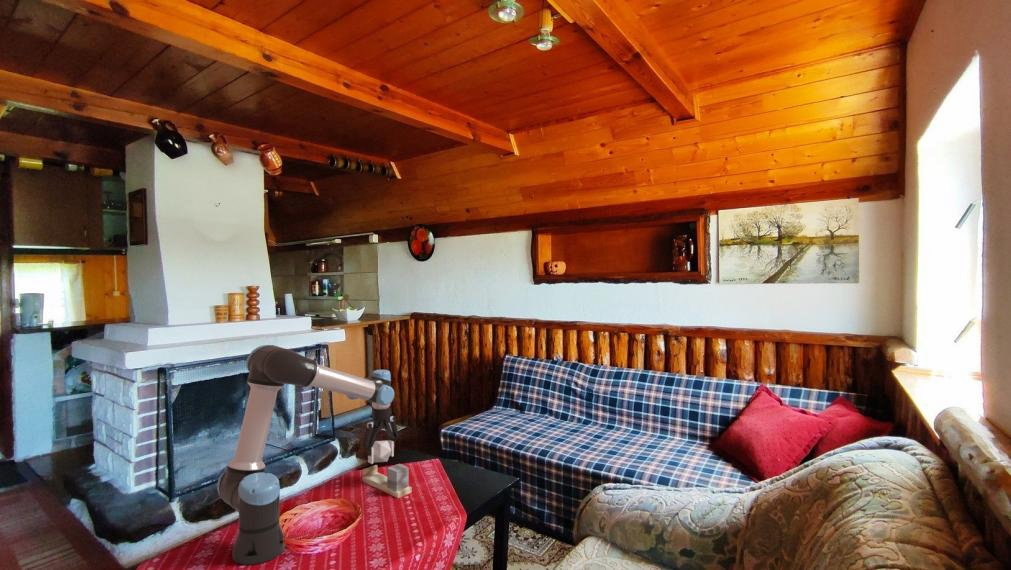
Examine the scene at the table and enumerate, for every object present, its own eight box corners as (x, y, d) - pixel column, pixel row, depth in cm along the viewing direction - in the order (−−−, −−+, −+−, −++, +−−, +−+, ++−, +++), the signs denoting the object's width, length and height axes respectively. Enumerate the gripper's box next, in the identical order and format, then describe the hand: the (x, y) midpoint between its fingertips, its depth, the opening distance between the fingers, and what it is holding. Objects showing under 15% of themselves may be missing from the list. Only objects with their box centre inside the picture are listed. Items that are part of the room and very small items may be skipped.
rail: (398, 498, 196) (398, 473, 196) (362, 481, 212) (362, 458, 211) (411, 492, 202) (411, 468, 202) (375, 476, 217) (376, 453, 217)
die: (383, 468, 203) (396, 445, 207) (364, 457, 203) (378, 434, 207) (383, 467, 211) (396, 446, 215) (365, 457, 211) (379, 435, 215)
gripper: (364, 414, 197) (363, 469, 198) (407, 403, 215) (407, 453, 215) (353, 410, 202) (352, 464, 203) (396, 400, 219) (396, 449, 220)
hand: (380, 459), depth 209 cm, fingers closed on die, 10 cm apart
